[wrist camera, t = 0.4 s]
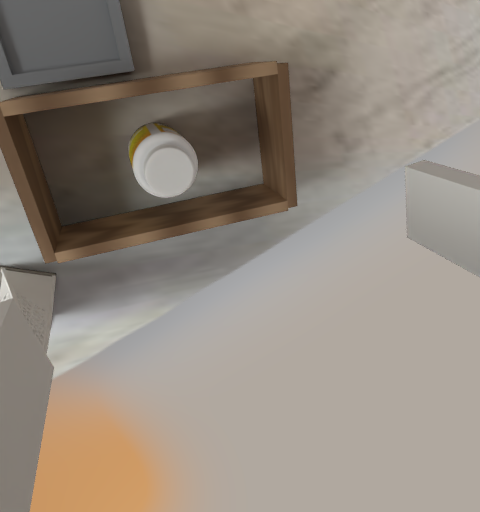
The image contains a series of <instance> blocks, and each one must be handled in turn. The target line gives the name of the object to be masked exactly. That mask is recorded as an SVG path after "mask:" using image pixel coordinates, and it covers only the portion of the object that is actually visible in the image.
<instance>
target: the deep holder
mask: <svg viewBox="0 0 480 512" xmlns="http://www.w3.org/2000/svg"><path fill="white" fill-rule="evenodd" d="M249 78H253V84H254V94H255V104H256V114H257V124H258V133H259V143H260V153H261V163H262V173H263V182H264V184H259V185H254V186H250V187H245V188H240V189H236V190H231V191H226V192H222V193H217V194H212V195H207V196H203V197H198V198H193V199H189V200H184V201H179V202H175V203H170V204H165V205H160V206H156V207H151V208H146V209H142V210H137V211H132V212H128V213H123V214H118V215H113V216H109V217H104V218H99V219H95V220H90V221H85V222H81V223H76V224H71V225H66V226H62V224H61V221H60V219H59V216H58V213H57V210H56V207H55V204H54V201H53V199H52V196H51V193H50V190H49V187H48V184H47V181H46V179H45V176H44V173H43V170H42V167H41V164H40V161H39V159H38V156H37V153H36V150H35V147H34V144H33V141H32V138H31V136H30V133H29V130H28V127H27V124H26V121H25V118H24V116H23V114H24V113H30V112H37V111H43V110H50V109H56V108H62V107H69V106H75V105H82V104H88V103H95V102H101V101H107V100H114V99H120V98H127V97H133V96H140V95H146V94H152V93H159V92H165V91H172V90H178V89H185V88H191V87H197V86H204V85H210V84H217V83H223V82H230V81H236V80H242V79H249ZM0 148H1V150H2V153H3V155H4V158H5V161H6V163H7V166H8V168H9V171H10V173H11V176H12V179H13V181H14V184H15V186H16V189H17V192H18V194H19V197H20V199H21V202H22V204H23V207H24V210H25V212H26V215H27V217H28V220H29V223H30V225H31V228H32V230H33V233H34V236H35V238H36V241H37V243H38V246H39V248H40V251H41V254H42V256H43V259H44V261H45V264H46V263H50V262H54V261H57V262H58V263H62V262H66V261H70V260H75V259H79V258H83V257H88V256H92V255H97V254H101V253H105V252H110V251H114V250H118V249H123V248H127V247H131V246H136V245H140V244H144V243H149V242H153V241H157V240H162V239H166V238H170V237H175V236H179V235H183V234H188V233H192V232H196V231H201V230H205V229H210V228H214V227H218V226H223V225H227V224H231V223H236V222H240V221H244V220H249V219H253V218H257V217H262V216H266V215H270V214H275V213H279V212H283V211H288V208H290V207H295V206H297V193H296V178H295V163H294V147H293V132H292V117H291V101H290V86H289V71H288V63H277V61H270V62H251V63H244V64H238V65H231V66H224V67H217V68H211V69H204V70H197V71H190V72H183V73H177V74H170V75H163V76H156V77H149V78H143V79H136V80H129V81H122V82H116V83H109V84H102V85H95V86H88V87H82V88H75V89H68V90H61V91H54V92H48V93H41V94H34V95H27V96H21V97H15V98H12V99H9V100H5V101H2V102H0Z"/></svg>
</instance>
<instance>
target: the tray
mask: <svg viewBox="0 0 480 512" xmlns="http://www.w3.org/2000/svg"><path fill="white" fill-rule="evenodd" d="M130 71H135V70H134V65H133V61H132V56H131V52H130V47H129V43H128V38H127V34H126V29H125V25H124V20H123V15H122V11H121V6H120V2H119V0H0V81H1V83H2V86H3V89H11V88H18V87H25V86H32V85H39V84H46V83H53V82H60V81H67V80H74V79H81V78H88V77H95V76H102V75H109V74H116V73H123V72H130Z"/></svg>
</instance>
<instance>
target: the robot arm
mask: <svg viewBox="0 0 480 512" xmlns="http://www.w3.org/2000/svg"><path fill="white" fill-rule="evenodd" d="M405 182H406V183H405V184H406V217H407V237H408V238H409V239H411V240H413V241H415V242H417V243H418V244H420V245H422V246H424V247H426V248H427V249H429V250H431V251H433V252H435V253H437V254H438V255H440V256H442V257H444V258H445V259H447V260H449V261H451V262H453V263H455V264H456V265H458V266H460V267H462V268H464V269H465V270H467V271H469V272H471V273H473V274H474V275H476V276H478V277H480V176H479V175H476V174H472V173H468V172H465V171H461V170H458V169H454V168H451V167H447V166H444V165H440V164H436V163H433V162H429V161H425V160H423V161H420V162H417V163H414V164H411V165H408V166H405ZM53 370H54V367H53V365H52V363H51V362H50V360H49V358H48V357H47V355H46V353H45V351H44V350H43V348H42V346H41V345H40V343H39V341H38V340H37V338H36V336H35V335H34V333H33V331H32V330H31V328H30V326H29V325H28V323H27V321H26V320H25V318H24V316H23V314H22V313H21V311H20V309H19V308H18V306H17V304H16V303H15V301H14V299H13V298H12V299H9V300H6V301H3V302H0V512H29V511H30V505H31V499H32V493H33V488H34V482H35V476H36V470H37V464H38V458H39V453H40V447H41V441H42V434H43V429H44V423H45V417H46V411H47V405H48V399H49V394H50V388H51V382H52V376H53Z"/></svg>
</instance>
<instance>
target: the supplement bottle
mask: <svg viewBox="0 0 480 512" xmlns="http://www.w3.org/2000/svg"><path fill="white" fill-rule="evenodd" d="M128 152H129V158H130V162H131V165H132V169H133V172H134V175H135V178H136V180H137V181H138V183H139V184H140V186H141V187H142V188H143V189H144V190H145V191H147V192H148V193H150V194H152V195H154V196H157V197H163V198H170V197H175V196H178V195H180V194H182V193H184V192H185V191H186V190H188V189H189V188H190V186H191V185H192V184H193V182H194V180H195V178H196V176H197V172H198V159H197V155H196V153H195V151H194V149H193V147H192V146H191V144H190V143H189V142H188V141H187V140H186V139H185V138H183V137H182V136H181V135H180V134H179V133H177V132H176V131H175V130H174V129H172V128H171V127H169V126H167V125H165V124H161V123H149V124H146V125H144V126H142V127H140V128H139V129H138V130H137V131H136V132H135V133H134V134H133V135H132V137H131V139H130V142H129V148H128Z"/></svg>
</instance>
